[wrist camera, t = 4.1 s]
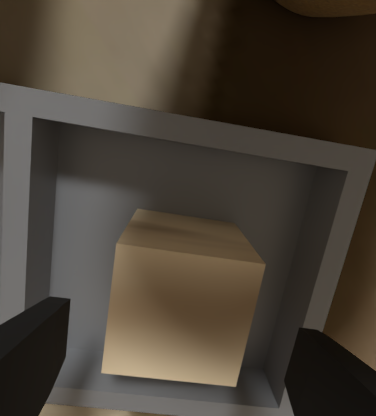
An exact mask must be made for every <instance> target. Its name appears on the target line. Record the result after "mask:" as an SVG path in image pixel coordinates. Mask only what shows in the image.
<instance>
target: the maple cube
mask: <svg viewBox="0 0 376 416" xmlns="http://www.w3.org/2000/svg"><path fill="white" fill-rule="evenodd" d="M265 266H266V264H265V263H264V261H263V260H262V259H261V257H260V256H259V255H258V253H257V252H256V251H255V249H254V248H253V247H252V245H251V244H250V243H249V241H248V240H247V239H246V237H245V236H244V235H243V233H242V232H241V231H240V229H239V228H238V227H237V226H236V224H235V223H230V222H223V221H217V220H210V219H204V218H197V217H190V216H184V215H177V214H170V213H164V212H157V211H151V210H144V209H137V210H136V212H135V213H134V215H133V217H132V218H131V220H130V222H129V223H128V225H127V227H126V228H125V230H124V231H123V233H122V235H121V236H120V238H119V240H118V241H117V243H116V250H115V259H114V267H113V276H112V284H111V293H110V302H109V310H108V319H107V327H106V336H105V345H104V353H103V362H102V370H101V373H105V374H115V375H125V376H134V377H144V378H154V379H164V380H173V381H183V382H193V383H202V384H212V385H222V386H232V387H236V384H237V380H238V376H239V372H240V368H241V364H242V360H243V356H244V352H245V348H246V343H247V339H248V335H249V331H250V327H251V323H252V319H253V315H254V311H255V307H256V303H257V299H258V294H259V290H260V286H261V282H262V278H263V274H264V270H265Z"/></svg>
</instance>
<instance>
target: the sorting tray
mask: <svg viewBox="0 0 376 416" xmlns="http://www.w3.org/2000/svg"><path fill="white" fill-rule="evenodd" d="M375 161H376V150H373V149H368V148H362V147H356V146H351V145H345V144H340V143H334V142H329V141H323V140H318V139H312V138H306V137H301V136H295V135H290V134H284V133H279V132H273V131H268V130H262V129H256V128H251V127H245V126H240V125H234V124H229V123H223V122H217V121H212V120H206V119H201V118H195V117H190V116H184V115H179V114H173V113H167V112H162V111H156V110H151V109H145V108H140V107H134V106H129V105H123V104H117V103H112V102H106V101H101V100H95V99H90V98H84V97H79V96H73V95H67V94H62V93H56V92H51V91H45V90H40V89H34V88H29V87H23V86H17V85H12V84H6V83H1V82H0V325H1V324H2V323H4V322H6V321H8V320H9V319H11V318H13V317H15V316H16V315H18V314H20V313H21V312H23V311H25V310H27V309H28V308H30V307H32V306H33V305H35V304H37V303H39V302H40V301H42V300H44V299H46V298H48V297H50V296H52V297H60V298H68V299H71V301H70V313H69V326H68V338H67V350H66V358H65V360H64V363H63V365H62V368H61V370H60V372H59V375H58V377H57V380H56V382H55V384H54V386H53V389H52V391H51V393H50V395H49V397H48V399H47V401H46V403H48V404H58V405H69V406H80V407H91V408H102V409H112V410H123V411H134V412H145V413H155V414H166V415H177V416H294V413H293V410H292V407H291V404H290V401H289V397H288V394H287V390H286V386H285V383H284V378H285V375H286V371H287V368H288V364H289V361H290V358H291V354H292V351H293V347H294V344H295V340H296V337H297V333H298V330H299V327H300V328H308V329H316V330H319V331H320V332H323V329H324V325H325V322H326V319H327V316H328V312H329V309H330V306H331V303H332V300H333V296H334V293H335V290H336V287H337V283H338V280H339V277H340V274H341V271H342V267H343V264H344V261H345V258H346V254H347V251H348V248H349V245H350V242H351V238H352V235H353V232H354V229H355V225H356V222H357V219H358V216H359V213H360V209H361V206H362V203H363V200H364V196H365V193H366V190H367V187H368V184H369V180H370V177H371V174H372V171H373V167H374V164H375ZM137 209H144V210H151V211H157V212H164V213H170V214H177V215H184V216H190V217H197V218H204V219H210V220H217V221H223V222H230V223H235V224H236V226H237V227H238V228H239V229H240V231H241V232H242V233H243V235H244V236H245V237H246V239H247V240H248V241H249V243H250V244H251V245H252V247H253V248H254V249H255V251H256V252H257V253H258V255H259V256H260V257H261V259H262V260H263V261H264V263H265V264H266V266H265V270H264V274H263V278H262V282H261V286H260V290H259V294H258V299H257V303H256V307H255V311H254V315H253V319H252V323H251V327H250V331H249V335H248V339H247V343H246V348H245V352H244V356H243V360H242V364H241V368H240V372H239V376H238V380H237V384H236V387H232V386H222V385H212V384H202V383H193V382H183V381H173V380H164V379H154V378H144V377H134V376H125V375H115V374H105V373H101V370H102V362H103V353H104V345H105V336H106V327H107V319H108V310H109V302H110V293H111V284H112V276H113V267H114V259H115V250H116V243H117V241H118V240H119V238H120V236H121V235H122V233H123V231H124V230H125V228H126V227H127V225H128V223H129V222H130V220H131V218H132V217H133V215H134V213H135V212H136V210H137Z"/></svg>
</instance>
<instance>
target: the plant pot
mask: <svg viewBox="0 0 376 416" xmlns="http://www.w3.org/2000/svg"><path fill="white" fill-rule="evenodd" d="M275 1H276V2H277V3H279V4H280V5H281V6H283V7H284V8H286V9H288V10H290V11H292V12H294V13H296V14H300V15H303V16H309V17H343V16H357V15H367V14H376V0H275Z"/></svg>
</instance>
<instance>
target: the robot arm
mask: <svg viewBox="0 0 376 416" xmlns="http://www.w3.org/2000/svg"><path fill="white" fill-rule="evenodd" d="M70 301H71V299H68V298H60V297H52V296H50V297H48V298H46V299H44V300H42V301H40V302H39V303H37V304H35V305H33V306H32V307H30V308H28V309H27V310H25V311H23V312H21V313H20V314H18V315H16V316H15V317H13V318H11V319H9V320H8V321H6V322H4V323H2V324H1V325H0V416H38V415H39V414H40V412H41V410H42V408H43V406H44V404H45V403H46V401H47V399H48V397H49V395H50V393H51V391H52V389H53V386H54V384H55V382H56V380H57V377H58V375H59V372H60V370H61V368H62V365H63V363H64V360H65V358H66V350H67V338H68V326H69V313H70ZM284 383H285V386H286V390H287V394H288V397H289V401H290V404H291V407H292V410H293V413H294V416H376V371H375V370H373V369H372V368H371V367H369V366H368V365H367V364H365V363H364V362H363V361H361V360H360V359H359V358H357V357H356V356H355V355H353V354H352V353H351V352H349V351H348V350H346V349H345V348H344V347H342V346H341V345H340V344H338V343H337V342H335V341H334V340H333V339H331V338H330V337H328V336H327V335H325V334H324V333H322V332H320V331H319V330H316V329H308V328H300V327H299V330H298V333H297V337H296V340H295V344H294V347H293V351H292V354H291V358H290V361H289V364H288V368H287V371H286V375H285V378H284Z"/></svg>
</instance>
